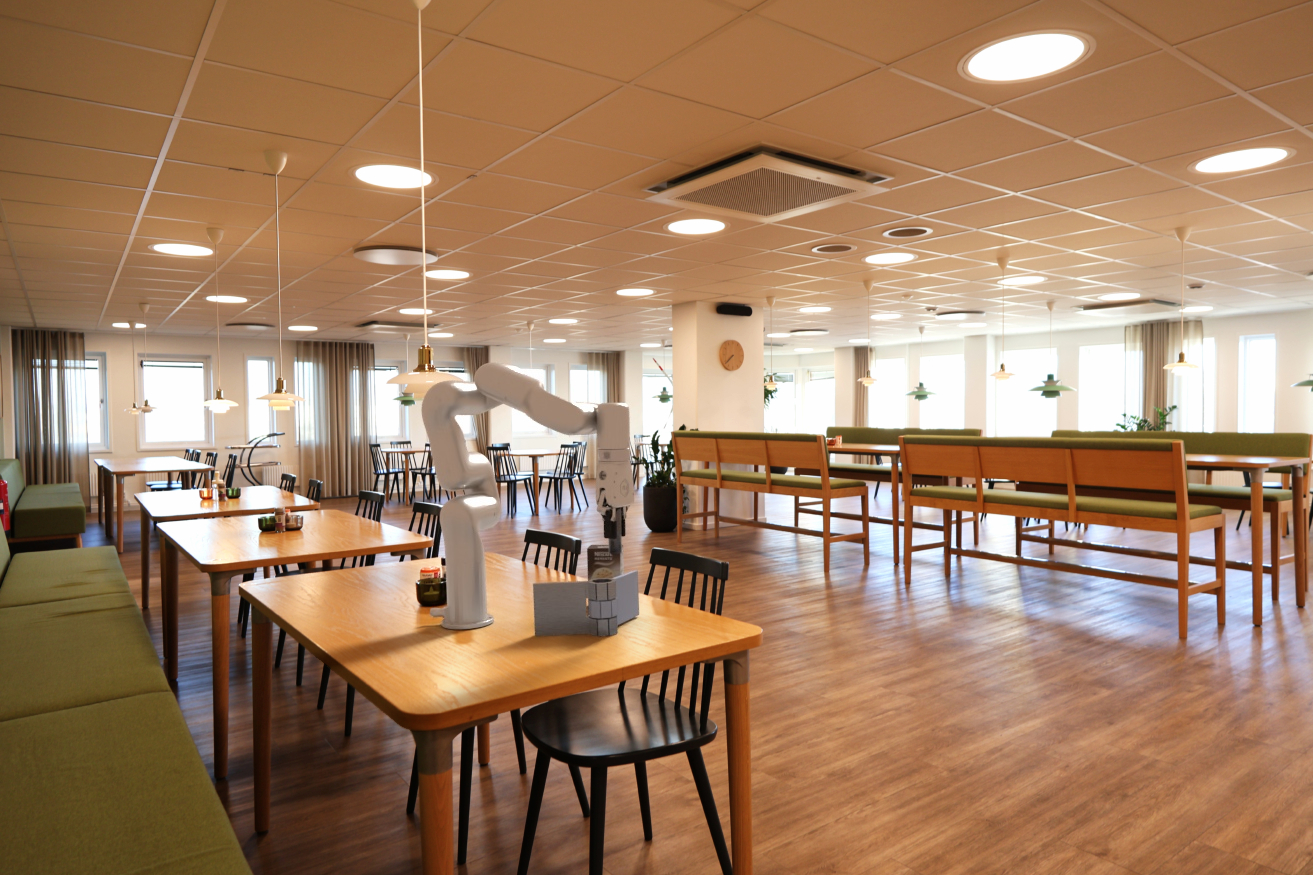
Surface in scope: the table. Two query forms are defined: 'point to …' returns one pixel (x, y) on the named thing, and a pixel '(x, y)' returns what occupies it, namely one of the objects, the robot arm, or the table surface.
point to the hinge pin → (616, 544)
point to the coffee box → (603, 562)
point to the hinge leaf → (619, 600)
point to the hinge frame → (572, 607)
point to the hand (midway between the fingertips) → (614, 536)
